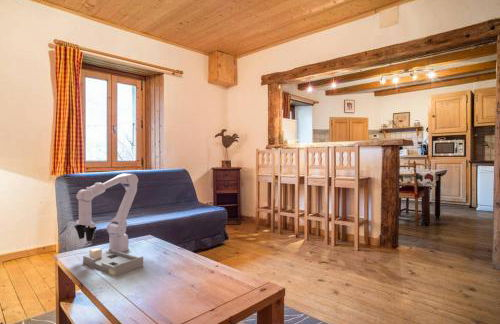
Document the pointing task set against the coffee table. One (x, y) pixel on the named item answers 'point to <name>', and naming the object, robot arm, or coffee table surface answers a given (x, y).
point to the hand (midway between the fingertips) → (85, 239)
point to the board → (114, 262)
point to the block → (95, 253)
